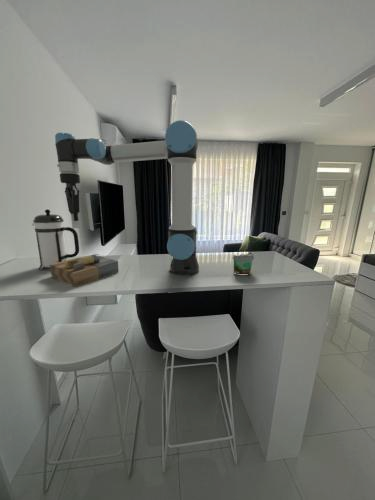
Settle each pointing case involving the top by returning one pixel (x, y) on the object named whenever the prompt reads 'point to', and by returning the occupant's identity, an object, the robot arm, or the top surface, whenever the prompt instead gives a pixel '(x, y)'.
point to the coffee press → (52, 239)
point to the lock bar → (82, 260)
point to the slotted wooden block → (84, 271)
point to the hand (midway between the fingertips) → (76, 227)
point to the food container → (243, 263)
